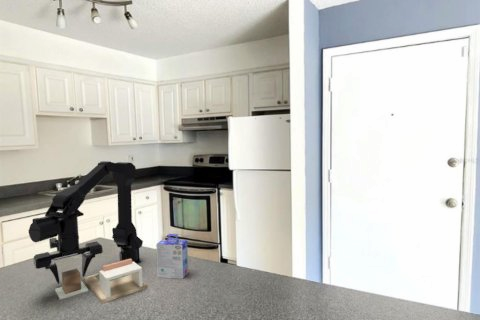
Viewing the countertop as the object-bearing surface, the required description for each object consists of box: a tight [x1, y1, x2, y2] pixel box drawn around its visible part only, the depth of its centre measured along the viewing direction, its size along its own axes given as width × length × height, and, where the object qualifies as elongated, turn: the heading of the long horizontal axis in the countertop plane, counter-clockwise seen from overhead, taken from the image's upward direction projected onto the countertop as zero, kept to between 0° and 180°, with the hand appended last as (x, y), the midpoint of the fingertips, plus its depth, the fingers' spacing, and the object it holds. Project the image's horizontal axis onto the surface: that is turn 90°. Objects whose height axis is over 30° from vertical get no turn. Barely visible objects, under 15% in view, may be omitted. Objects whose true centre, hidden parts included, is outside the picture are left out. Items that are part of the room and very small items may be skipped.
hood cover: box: [98, 258, 144, 298], centre depth 98 cm, size 11×7×7 cm, turn 130°
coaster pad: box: [54, 280, 89, 300], centre depth 99 cm, size 8×8×1 cm
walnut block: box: [61, 268, 82, 294], centre depth 99 cm, size 4×4×6 cm
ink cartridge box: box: [156, 233, 189, 279], centre depth 109 cm, size 10×6×14 cm, turn 81°
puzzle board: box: [83, 272, 148, 304], centre depth 103 cm, size 14×20×1 cm
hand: (71, 279), depth 99 cm, fingers open, 7 cm apart
